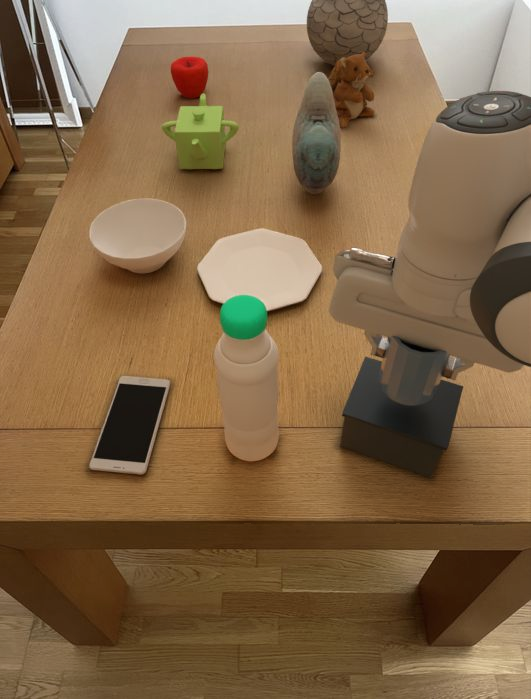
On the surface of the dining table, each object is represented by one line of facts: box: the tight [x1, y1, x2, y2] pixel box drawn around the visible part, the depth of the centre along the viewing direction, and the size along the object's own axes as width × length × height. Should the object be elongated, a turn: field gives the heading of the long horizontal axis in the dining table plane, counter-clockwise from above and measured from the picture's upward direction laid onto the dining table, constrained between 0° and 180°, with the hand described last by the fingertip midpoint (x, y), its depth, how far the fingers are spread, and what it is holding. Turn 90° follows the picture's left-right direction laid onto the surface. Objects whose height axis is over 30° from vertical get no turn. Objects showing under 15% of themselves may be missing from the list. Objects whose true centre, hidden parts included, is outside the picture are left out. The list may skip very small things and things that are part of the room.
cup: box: [379, 336, 451, 406], centre depth 63 cm, size 7×7×9 cm
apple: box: [170, 56, 209, 99], centre depth 134 cm, size 9×9×8 cm
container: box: [339, 356, 464, 479], centre depth 72 cm, size 13×10×8 cm
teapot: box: [161, 92, 240, 170], centre depth 114 cm, size 15×13×11 cm
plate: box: [196, 228, 323, 313], centre depth 95 cm, size 20×20×2 cm
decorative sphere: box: [306, 0, 389, 67], centre depth 139 cm, size 20×20×20 cm
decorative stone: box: [291, 71, 342, 195], centre depth 104 cm, size 21×9×20 cm, turn 177°
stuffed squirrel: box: [328, 52, 376, 129], centre depth 125 cm, size 10×14×13 cm
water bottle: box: [213, 295, 280, 462], centre depth 65 cm, size 7×7×25 cm
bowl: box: [88, 198, 187, 274], centre depth 96 cm, size 16×16×7 cm
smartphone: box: [88, 375, 171, 476], centre depth 76 cm, size 8×1×15 cm
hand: (413, 363), depth 63 cm, fingers closed on cup, 7 cm apart
